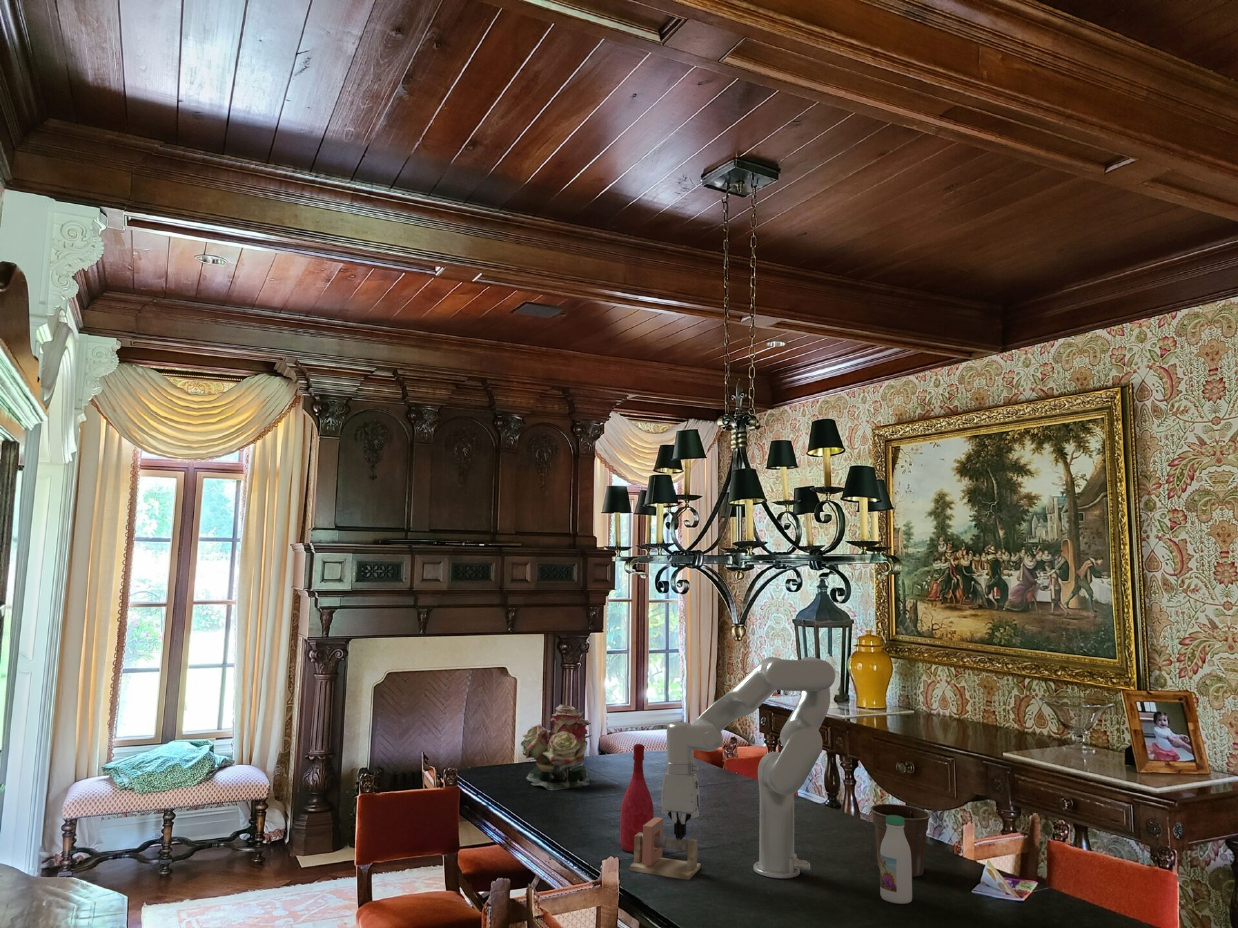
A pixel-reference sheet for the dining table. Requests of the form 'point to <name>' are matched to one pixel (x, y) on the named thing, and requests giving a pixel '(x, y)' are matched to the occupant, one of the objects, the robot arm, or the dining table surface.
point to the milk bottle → (895, 863)
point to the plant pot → (913, 830)
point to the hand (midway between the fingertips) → (680, 837)
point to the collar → (651, 841)
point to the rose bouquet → (558, 750)
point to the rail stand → (663, 864)
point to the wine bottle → (635, 803)
